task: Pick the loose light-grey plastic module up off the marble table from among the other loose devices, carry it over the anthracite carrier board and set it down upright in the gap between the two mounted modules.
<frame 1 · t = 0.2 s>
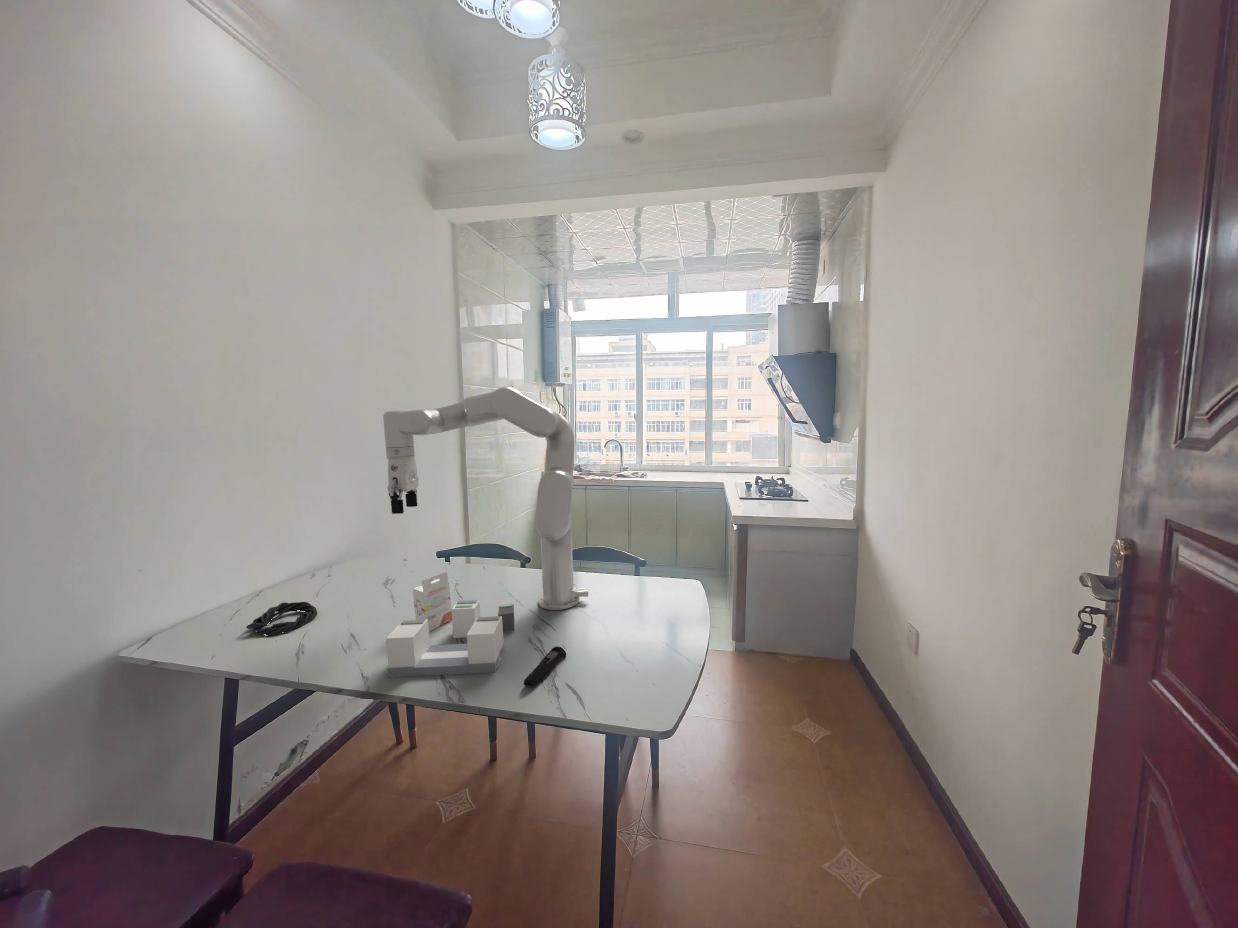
hand: (405, 509, 137), 31 cm above the table, fingers open, 9 cm apart
module: (467, 633, 124), on the table
cable: (289, 623, 134), on the table
ink cartridge box: (434, 625, 130), on the table
loose device: (507, 626, 127), on the table
rail board: (449, 662, 109), on the table
electric trimmer: (546, 672, 105), on the table
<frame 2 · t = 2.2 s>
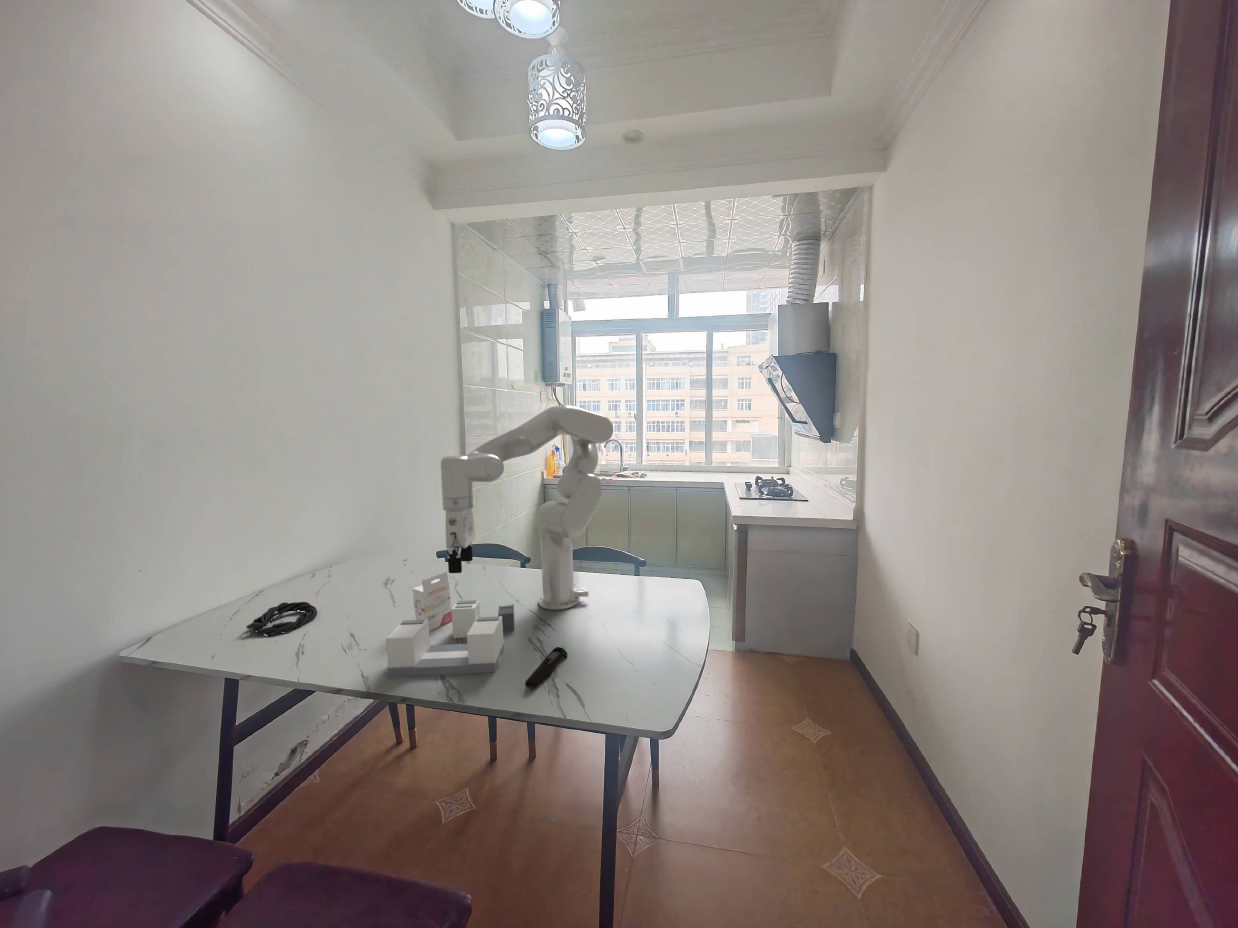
hand: (461, 566, 122), 19 cm above the table, fingers open, 9 cm apart
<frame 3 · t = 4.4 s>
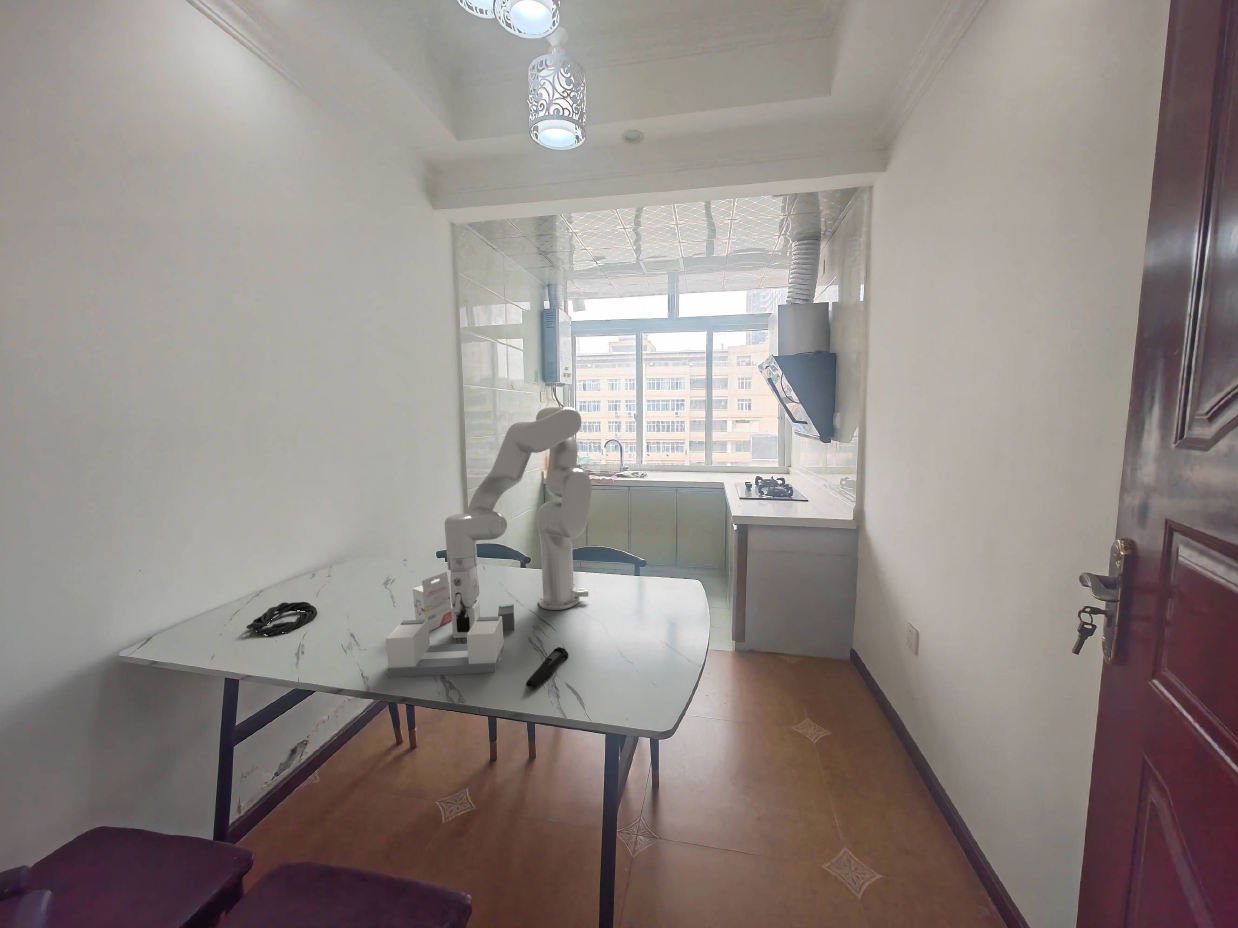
hand: (466, 625, 124), 2 cm above the table, fingers closed on module, 5 cm apart
module: (467, 632, 124), on the table, touching gripper
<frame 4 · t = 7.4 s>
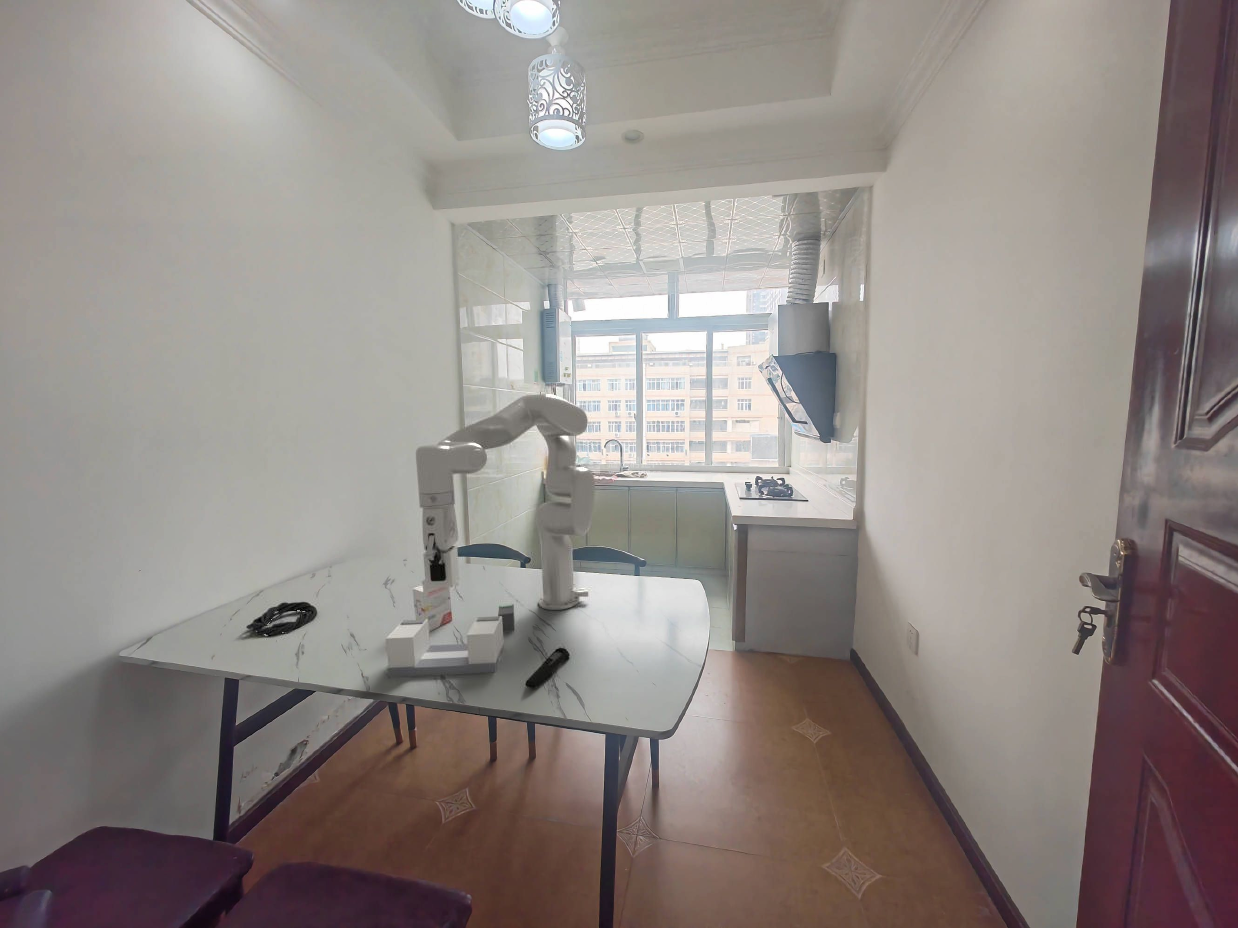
hand: (442, 575, 107), 22 cm above the table, fingers closed on module, 5 cm apart
module: (443, 583, 107), point 20 cm above the table, touching gripper
everything else where it was.
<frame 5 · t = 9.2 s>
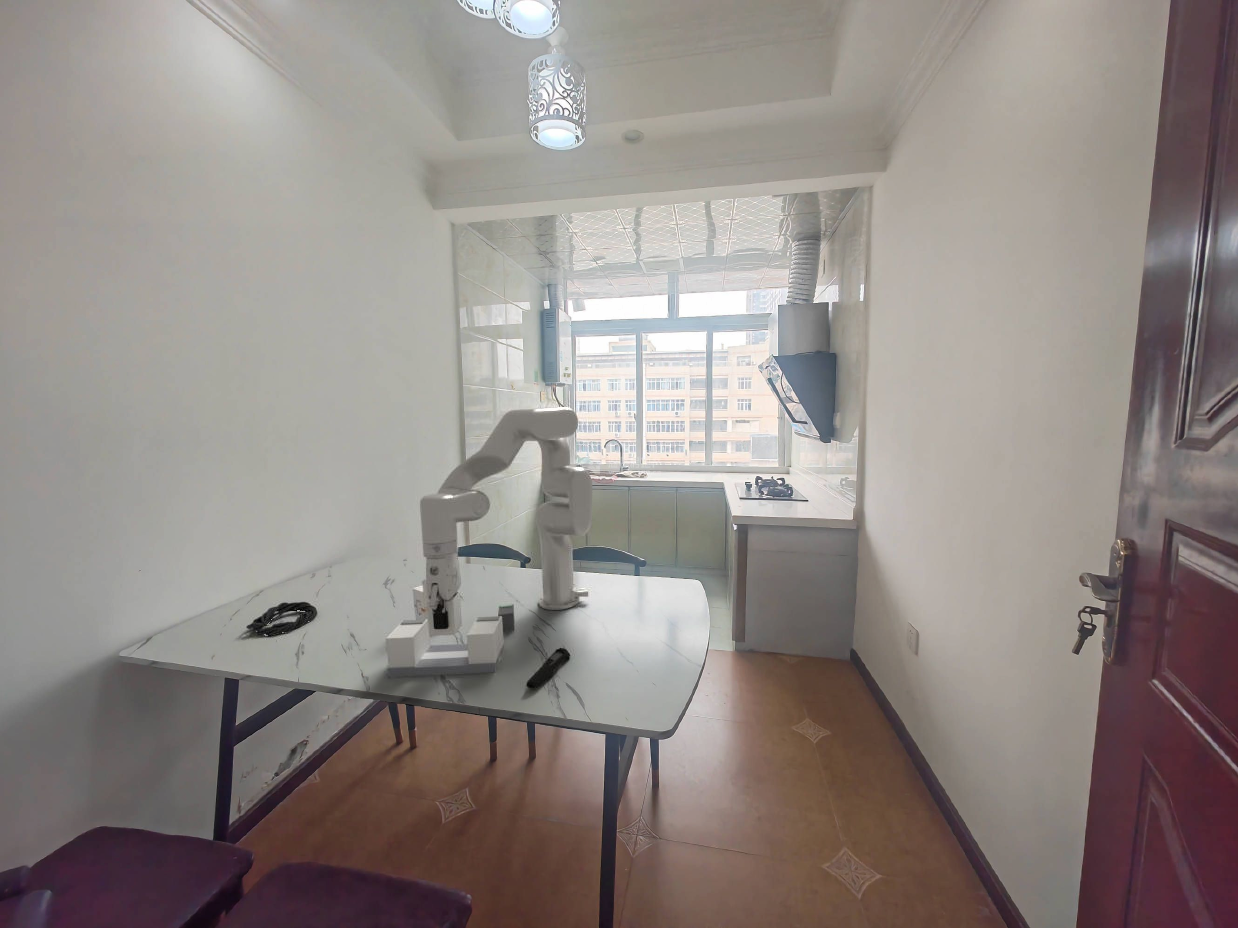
hand: (445, 622, 108), 10 cm above the table, fingers closed on module, 5 cm apart
module: (445, 630, 108), point 8 cm above the table, touching gripper
when the fingers open (4 cm above the table, at t = 10.8 s): module stays where it is, resting on rail board.
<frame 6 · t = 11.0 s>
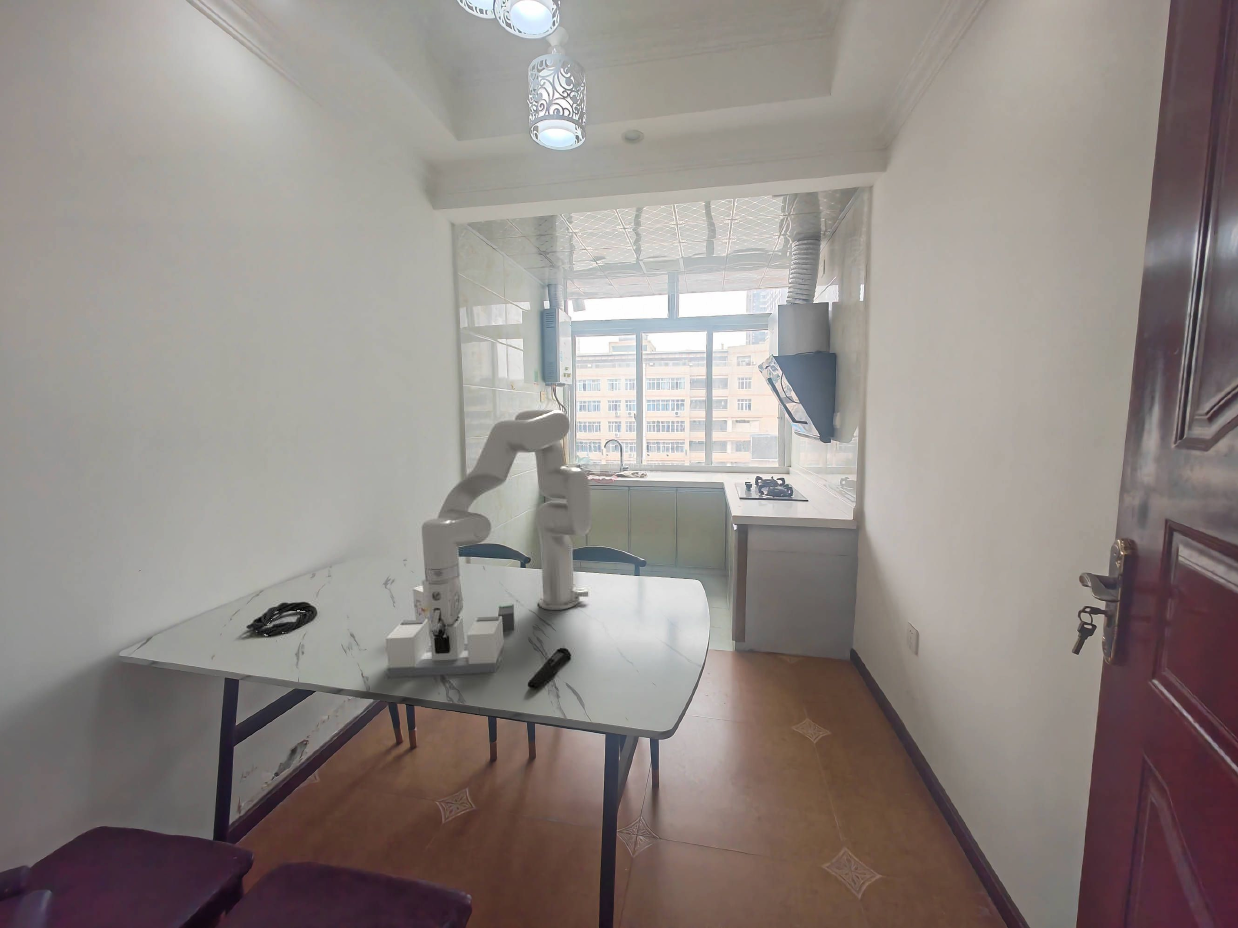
hand: (447, 644, 109), 5 cm above the table, fingers open, 6 cm apart
module: (448, 654, 109), point 2 cm above the table, touching rail board
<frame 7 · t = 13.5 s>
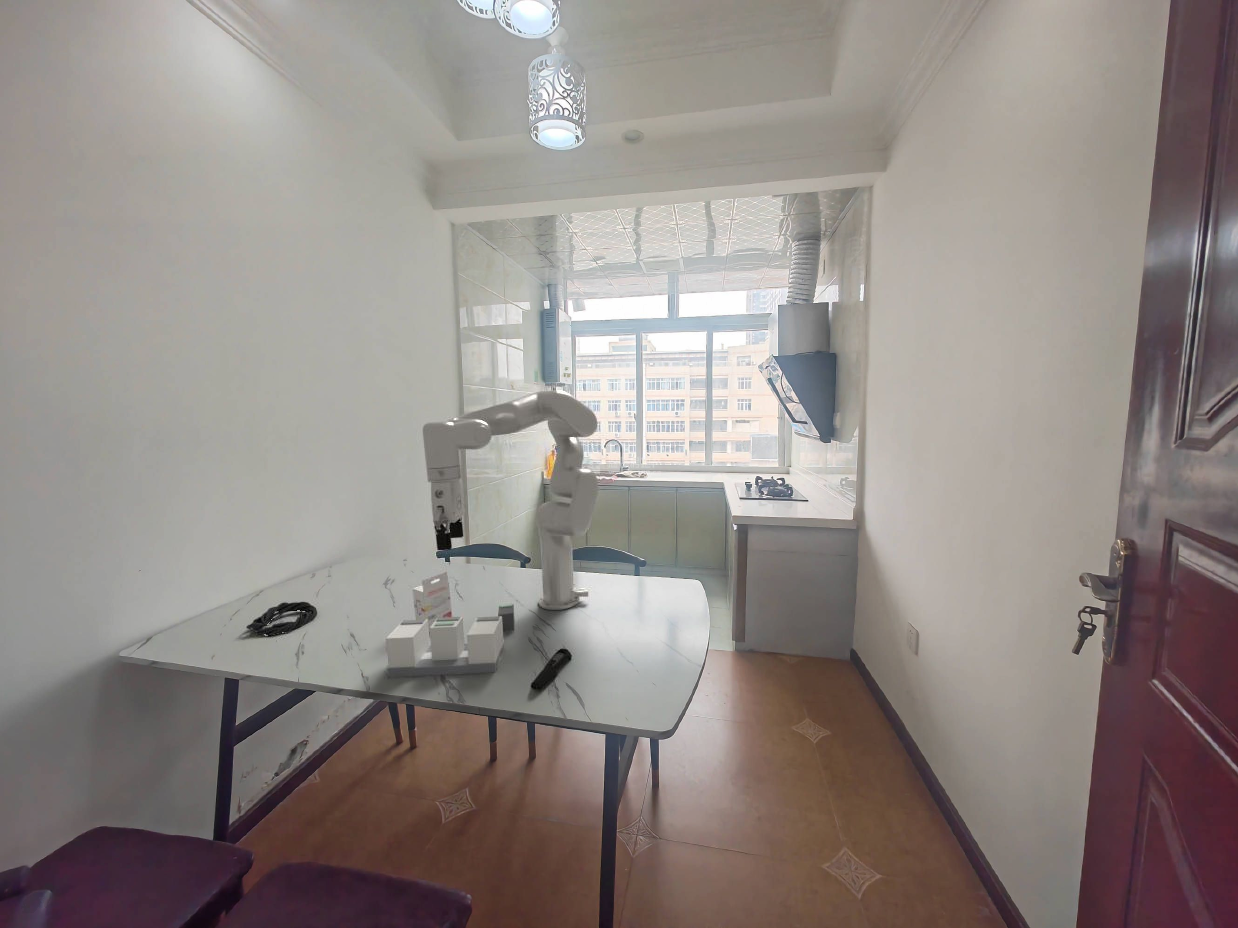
hand: (451, 543, 112), 28 cm above the table, fingers open, 9 cm apart
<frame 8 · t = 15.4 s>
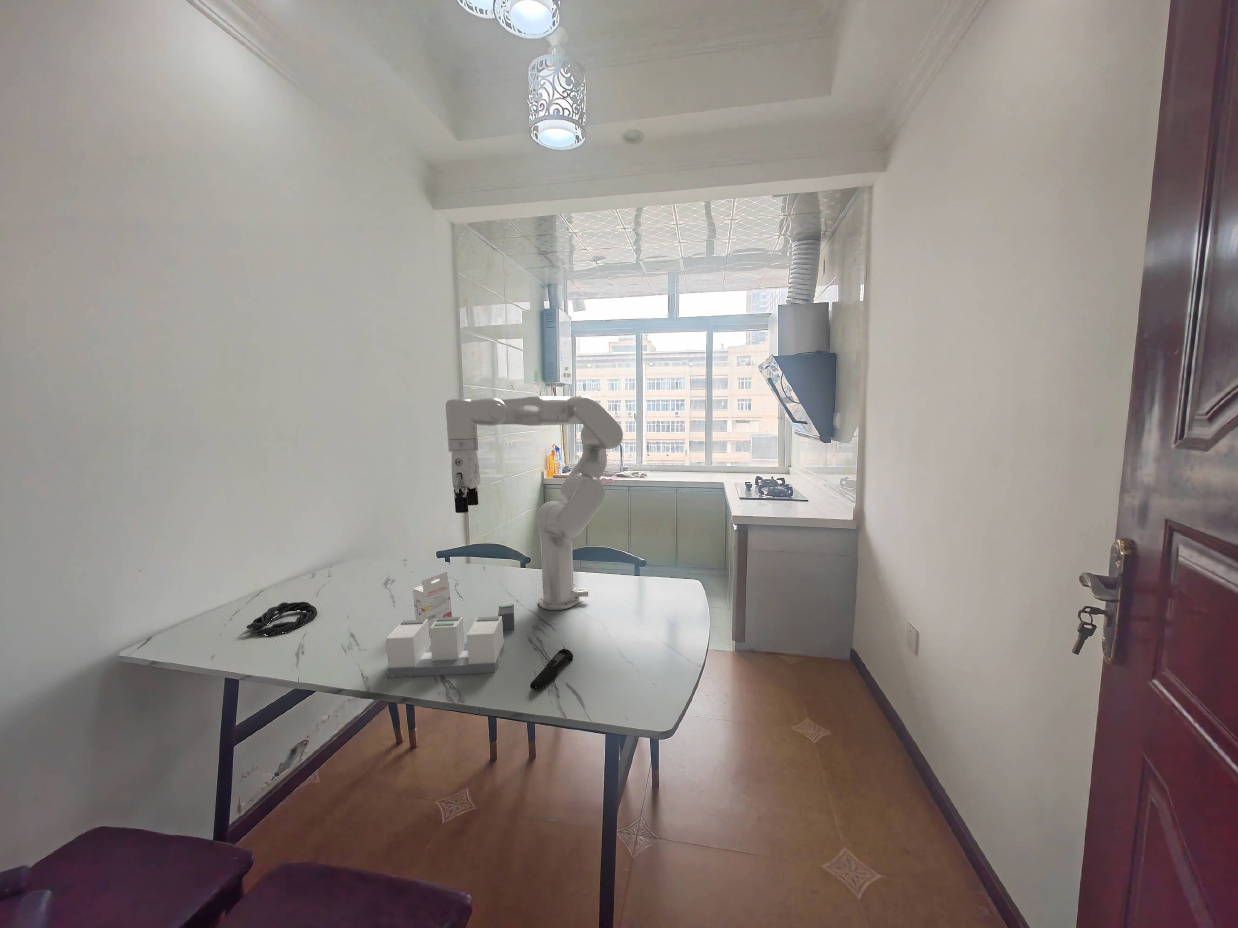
hand: (467, 508, 124), 33 cm above the table, fingers open, 9 cm apart
at the end: module inside the target area on the rail board (0.1 cm from its centre), point 2.0 cm above the rail board's base; module touching rail board; module tilted 0° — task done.
